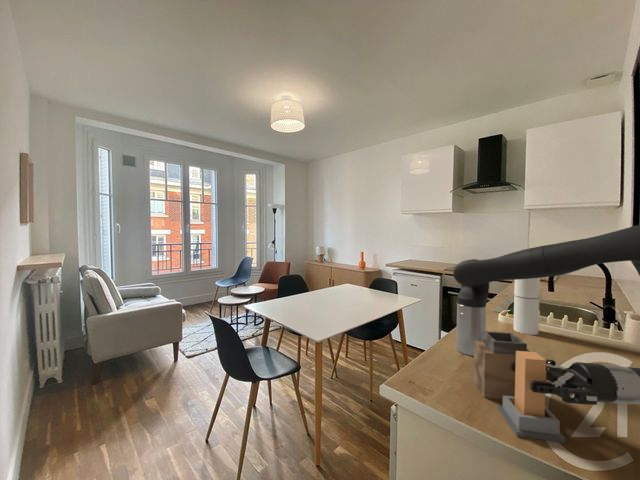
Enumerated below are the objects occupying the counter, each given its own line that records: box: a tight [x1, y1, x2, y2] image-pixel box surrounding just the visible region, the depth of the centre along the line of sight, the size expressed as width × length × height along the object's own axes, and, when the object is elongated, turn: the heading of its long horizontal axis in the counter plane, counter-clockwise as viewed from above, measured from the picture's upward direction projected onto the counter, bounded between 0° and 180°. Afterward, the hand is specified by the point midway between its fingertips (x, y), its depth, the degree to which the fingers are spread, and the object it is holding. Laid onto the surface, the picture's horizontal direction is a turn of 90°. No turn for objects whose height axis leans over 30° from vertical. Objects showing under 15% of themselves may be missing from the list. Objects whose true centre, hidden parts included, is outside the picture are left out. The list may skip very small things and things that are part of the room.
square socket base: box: [472, 330, 531, 400], centre depth 74 cm, size 8×12×15 cm, turn 79°
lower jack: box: [497, 396, 566, 443], centre depth 62 cm, size 9×9×4 cm
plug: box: [515, 351, 547, 417], centre depth 62 cm, size 4×4×15 cm
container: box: [513, 278, 541, 336], centre depth 117 cm, size 9×9×30 cm
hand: (520, 375), depth 62 cm, fingers open, 8 cm apart
